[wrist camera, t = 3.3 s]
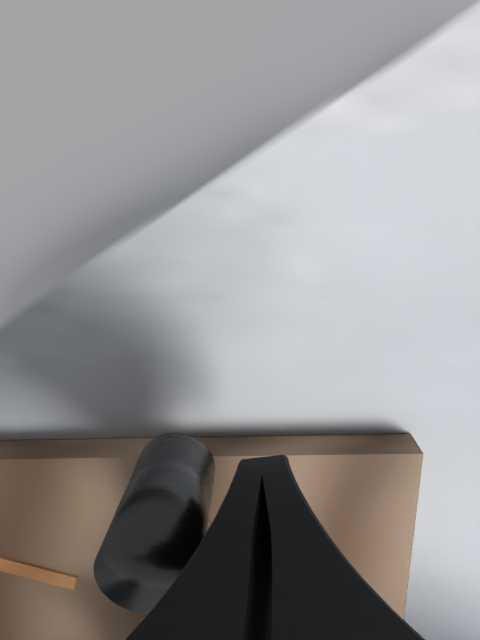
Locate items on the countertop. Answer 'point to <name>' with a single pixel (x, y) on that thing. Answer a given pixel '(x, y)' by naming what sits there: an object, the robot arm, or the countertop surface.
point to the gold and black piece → (157, 522)
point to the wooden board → (113, 476)
